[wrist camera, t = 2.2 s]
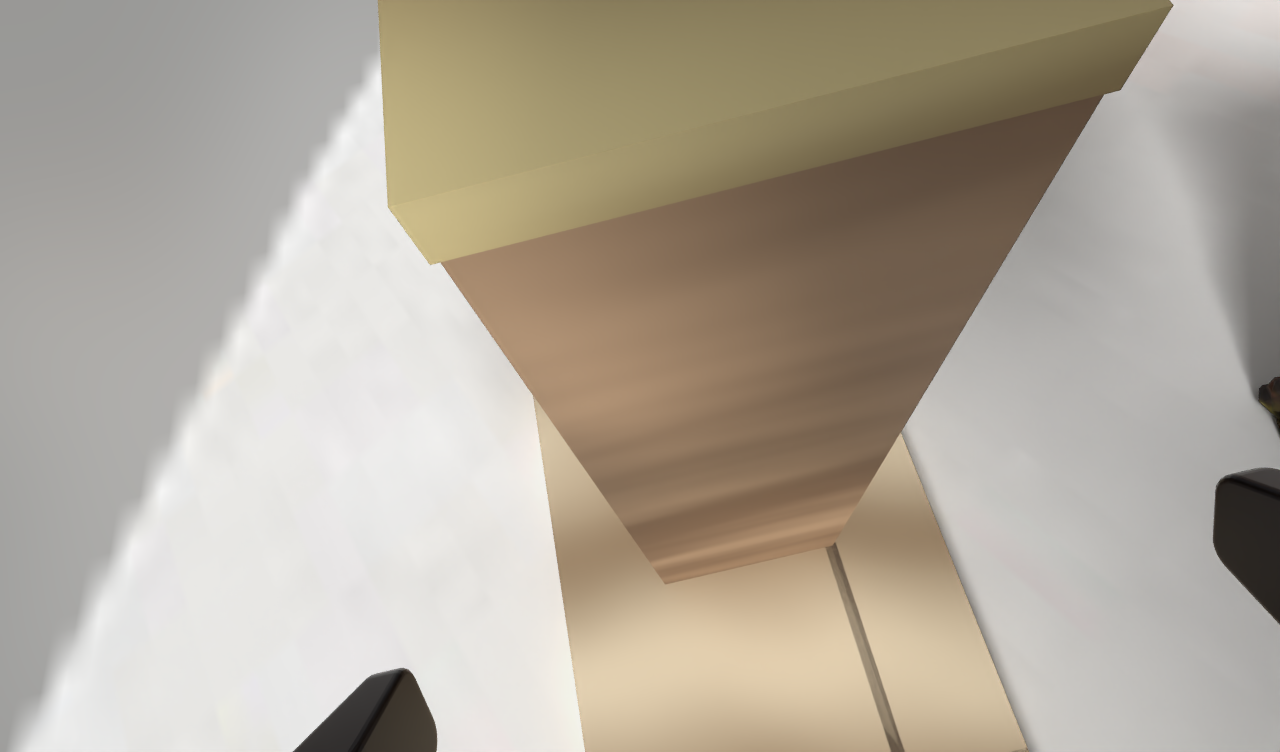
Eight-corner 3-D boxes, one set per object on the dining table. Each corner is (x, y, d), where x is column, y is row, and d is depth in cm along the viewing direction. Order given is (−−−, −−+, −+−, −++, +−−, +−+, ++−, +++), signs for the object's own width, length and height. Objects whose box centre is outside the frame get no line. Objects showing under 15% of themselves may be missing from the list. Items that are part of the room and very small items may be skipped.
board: (1123, 1037, 14) (1155, 1066, 13) (653, 1134, 14) (646, 1169, 13) (801, 214, 24) (804, 191, 23) (524, 284, 24) (513, 265, 23)
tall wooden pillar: (835, 547, 18) (1172, 5, 4) (663, 586, 18) (388, 206, 4) (784, 390, 20) (882, -338, 6) (630, 427, 20) (367, -196, 6)
